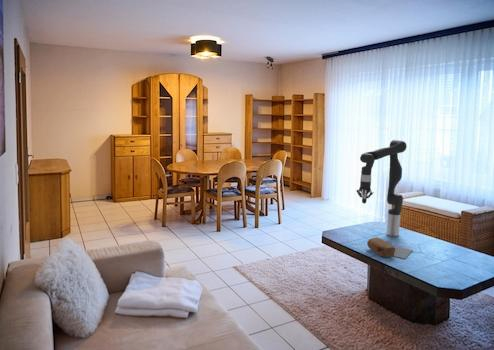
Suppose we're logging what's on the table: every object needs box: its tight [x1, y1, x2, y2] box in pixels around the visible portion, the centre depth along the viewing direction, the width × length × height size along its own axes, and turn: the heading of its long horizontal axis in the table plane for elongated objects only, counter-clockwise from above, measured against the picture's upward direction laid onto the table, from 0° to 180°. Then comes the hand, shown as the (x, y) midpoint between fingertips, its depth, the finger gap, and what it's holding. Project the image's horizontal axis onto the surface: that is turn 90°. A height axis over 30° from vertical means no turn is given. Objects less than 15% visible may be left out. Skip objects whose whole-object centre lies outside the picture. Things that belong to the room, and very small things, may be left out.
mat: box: [392, 245, 414, 260], centre depth 285 cm, size 20×20×1 cm
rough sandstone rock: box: [366, 237, 395, 258], centre depth 281 cm, size 11×8×20 cm
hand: (364, 203), depth 302 cm, fingers closed
